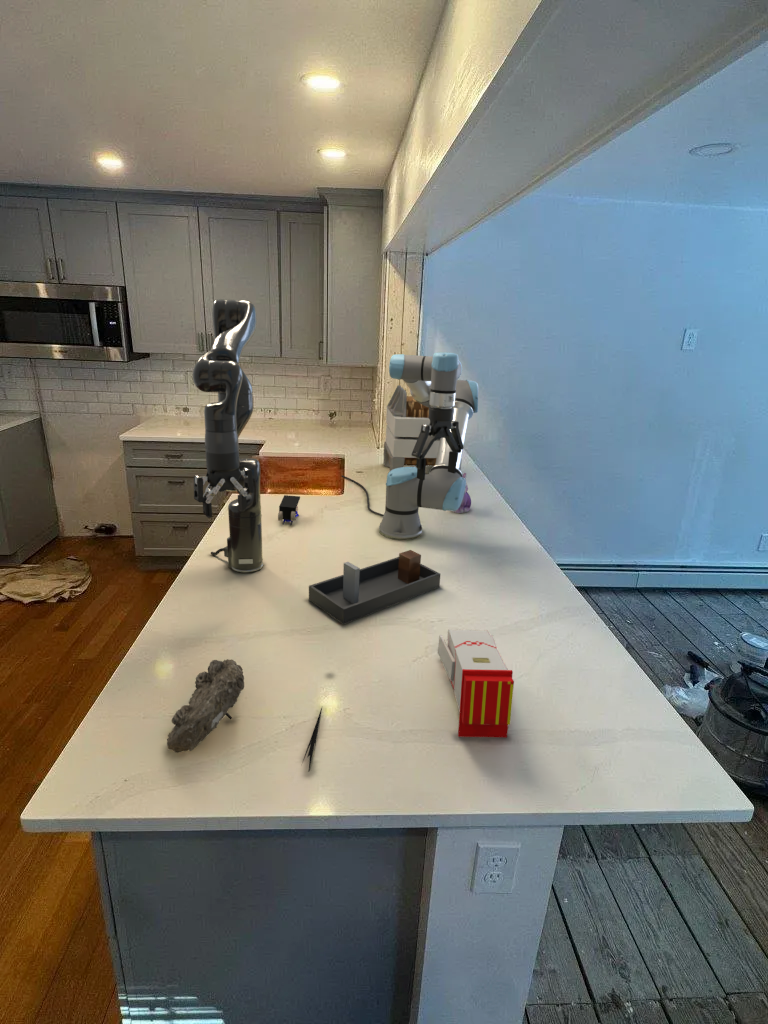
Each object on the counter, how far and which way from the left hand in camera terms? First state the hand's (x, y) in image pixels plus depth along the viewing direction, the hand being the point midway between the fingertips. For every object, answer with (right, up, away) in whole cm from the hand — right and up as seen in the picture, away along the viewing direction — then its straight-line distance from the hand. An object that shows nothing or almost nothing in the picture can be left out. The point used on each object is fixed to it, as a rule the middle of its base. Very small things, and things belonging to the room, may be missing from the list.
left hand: (225, 513), depth 138 cm
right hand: (+55, +12, +37) cm, 67 cm away
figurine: (+69, +1, +89) cm, 113 cm away
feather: (+26, -39, -29) cm, 56 cm away
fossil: (+6, -39, -30) cm, 49 cm away
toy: (+56, -37, -19) cm, 70 cm away
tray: (+36, -22, +20) cm, 47 cm away
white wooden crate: (+56, +19, +137) cm, 149 cm away
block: (+46, -19, +27) cm, 56 cm away
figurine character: (+4, -3, +70) cm, 70 cm away
